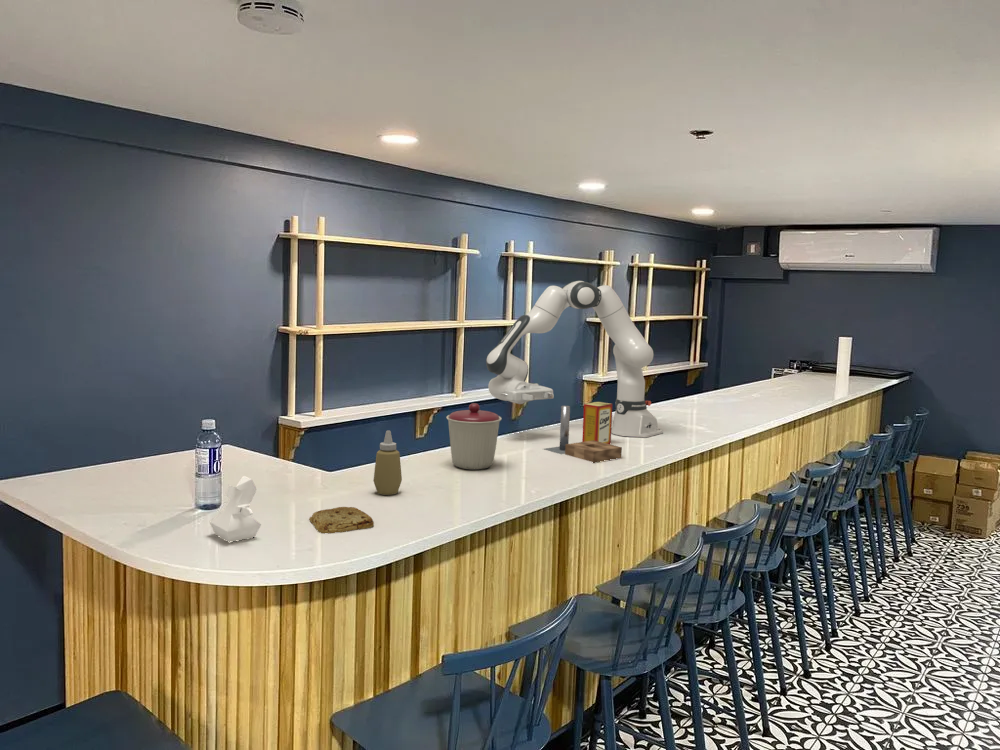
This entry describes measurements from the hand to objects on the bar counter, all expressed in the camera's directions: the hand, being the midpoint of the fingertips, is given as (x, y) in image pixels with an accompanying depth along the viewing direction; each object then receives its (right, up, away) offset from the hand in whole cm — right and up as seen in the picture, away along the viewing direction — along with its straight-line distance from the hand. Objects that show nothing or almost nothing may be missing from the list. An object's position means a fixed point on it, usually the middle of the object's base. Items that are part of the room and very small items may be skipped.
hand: (542, 397), depth 297 cm
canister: (-25, -22, -35) cm, 49 cm away
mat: (+7, -19, -7) cm, 22 cm away
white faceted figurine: (-78, -30, -112) cm, 139 cm away
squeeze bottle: (-48, -25, -70) cm, 89 cm away
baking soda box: (+21, -18, +6) cm, 28 cm away
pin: (+7, -19, -7) cm, 22 cm away
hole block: (+17, -21, -16) cm, 31 cm away
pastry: (-56, -29, -99) cm, 117 cm away
